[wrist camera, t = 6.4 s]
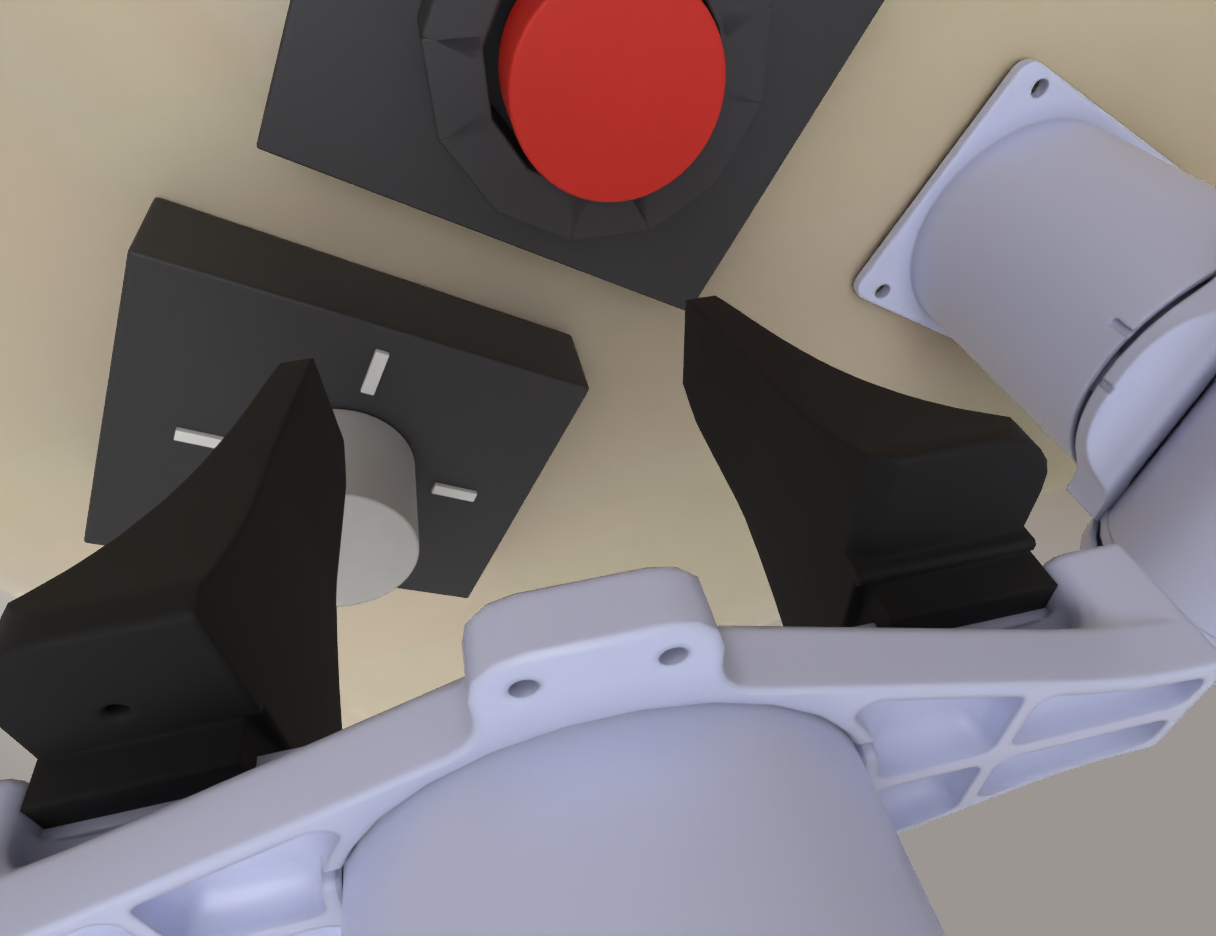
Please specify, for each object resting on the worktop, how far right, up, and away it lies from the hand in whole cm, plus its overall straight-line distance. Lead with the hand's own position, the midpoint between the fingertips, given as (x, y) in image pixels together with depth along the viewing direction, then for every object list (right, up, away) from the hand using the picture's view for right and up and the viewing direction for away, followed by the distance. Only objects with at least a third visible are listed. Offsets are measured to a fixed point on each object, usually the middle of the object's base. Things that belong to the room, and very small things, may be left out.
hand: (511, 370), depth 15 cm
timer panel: (-7, 0, +10) cm, 12 cm away
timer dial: (-6, -2, +8) cm, 10 cm away
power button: (+2, +7, +1) cm, 7 cm away
